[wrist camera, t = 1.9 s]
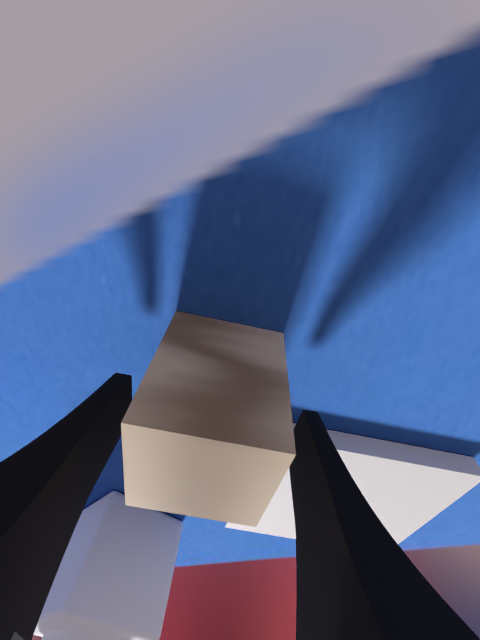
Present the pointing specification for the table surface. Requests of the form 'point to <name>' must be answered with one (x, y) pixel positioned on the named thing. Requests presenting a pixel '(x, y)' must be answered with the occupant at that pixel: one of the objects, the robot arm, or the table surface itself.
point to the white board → (384, 485)
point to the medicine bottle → (113, 575)
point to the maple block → (210, 422)
